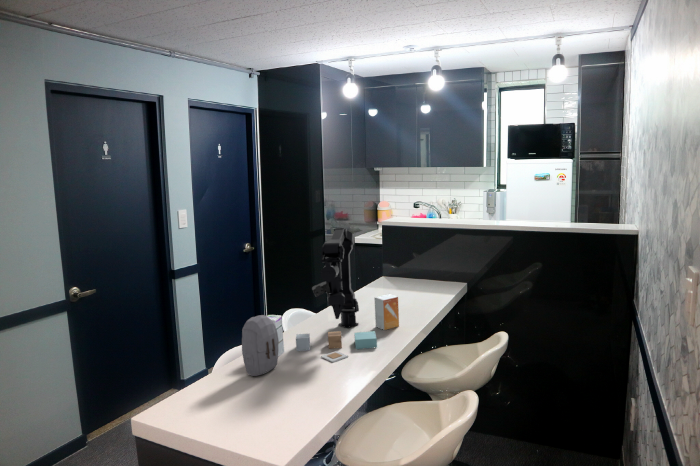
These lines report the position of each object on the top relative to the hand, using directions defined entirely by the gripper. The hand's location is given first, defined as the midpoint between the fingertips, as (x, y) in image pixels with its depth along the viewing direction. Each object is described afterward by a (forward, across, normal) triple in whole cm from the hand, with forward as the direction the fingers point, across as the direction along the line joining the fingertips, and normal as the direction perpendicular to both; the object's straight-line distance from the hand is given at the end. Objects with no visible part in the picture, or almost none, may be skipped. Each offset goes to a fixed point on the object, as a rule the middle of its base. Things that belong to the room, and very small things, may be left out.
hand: (336, 315), depth 195 cm
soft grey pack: (+12, +19, -27) cm, 35 cm away
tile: (+12, +11, -2) cm, 17 cm away
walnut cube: (+12, 0, -1) cm, 12 cm away
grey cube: (+12, 0, -13) cm, 18 cm away
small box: (+12, -18, +22) cm, 31 cm away
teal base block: (+12, +1, +11) cm, 16 cm away
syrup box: (+12, +3, -24) cm, 27 cm away
